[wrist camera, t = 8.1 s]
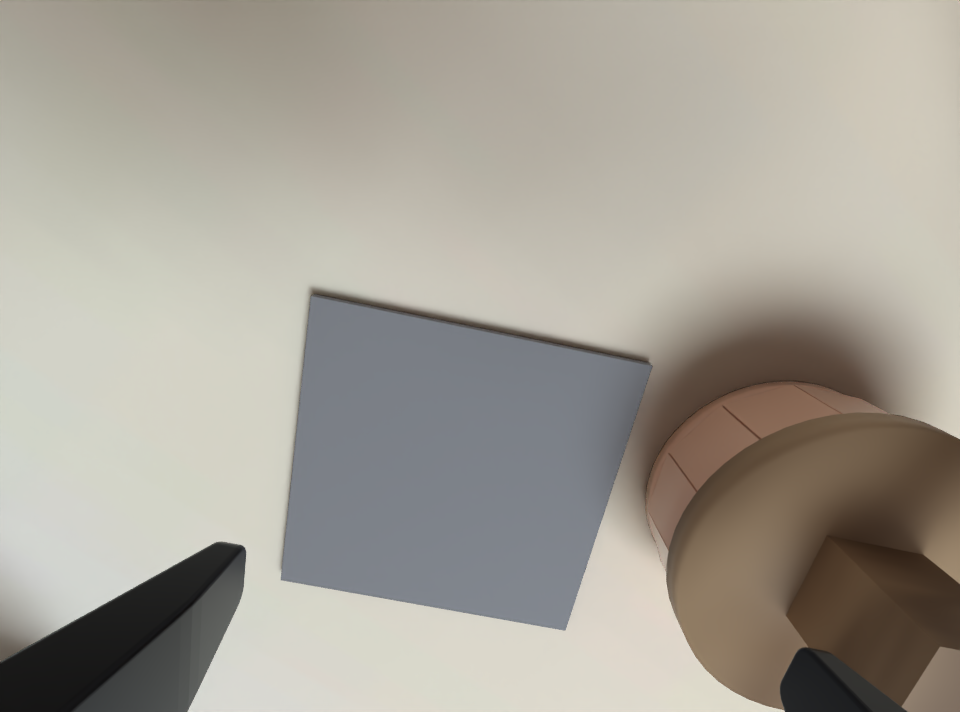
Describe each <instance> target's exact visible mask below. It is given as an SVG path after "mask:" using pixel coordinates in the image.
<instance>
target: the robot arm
mask: <svg viewBox="0 0 960 712" xmlns="http://www.w3.org/2000/svg"><path fill="white" fill-rule="evenodd" d="M245 562H246V550H245V548H244V547H243V546H242V545H238V544H232V543H227V542H216V543H214V544H212V545H210V546H208V547H206V548H205V549H203V550H201V551H199V552H197V553H196V554H194V555H192V556H190V557H188V558H187V559H185V560H183V561H181V562H179V563H178V564H176V565H174V566H172V567H170V568H169V569H167V570H165V571H163V572H161V573H160V574H158V575H156V576H154V577H152V578H151V579H149V580H147V581H145V582H143V583H142V584H140V585H138V586H136V587H134V588H133V589H131V590H129V591H127V592H125V593H124V594H122V595H120V596H118V597H116V598H115V599H113V600H111V601H109V602H107V603H106V604H104V605H102V606H100V607H98V608H97V609H95V610H93V611H91V612H89V613H88V614H86V615H84V616H82V617H80V618H78V619H77V620H75V621H73V622H71V623H69V624H68V625H66V626H64V627H62V628H60V629H59V630H57V631H55V632H53V633H51V634H50V635H48V636H46V637H44V638H42V639H41V640H39V641H37V642H35V643H33V644H32V645H30V646H28V647H26V648H24V649H23V650H21V651H19V652H17V653H15V654H14V655H12V656H10V657H8V658H6V659H5V660H3V661H1V662H0V712H187V711H188V709H189V707H190V705H191V703H192V701H193V699H194V697H195V695H196V693H197V691H198V689H199V687H200V685H201V683H202V681H203V678H204V676H205V674H206V672H207V670H208V668H209V666H210V664H211V662H212V659H213V657H214V655H215V653H216V651H217V649H218V647H219V645H220V643H221V640H222V638H223V636H224V634H225V632H226V630H227V628H228V626H229V624H230V621H231V619H232V617H233V615H234V613H235V611H236V609H237V607H238V604H239V602H240V599H241V596H242V592H243V587H244V574H245ZM780 698H781V702H782V704H783V707H784V710H785V712H908V711H906V710H905V709H904V708H902V707H901V706H900V705H898V704H897V703H896V702H895V701H893V700H892V699H891V698H889V697H888V696H887V695H885V694H884V693H883V692H881V691H880V690H879V689H878V688H876V687H875V686H874V685H872V684H871V683H870V682H868V681H867V680H866V679H864V678H863V677H862V676H861V675H859V674H858V673H857V672H855V671H854V670H853V669H851V668H850V667H849V666H847V665H846V664H845V663H844V662H842V661H841V660H840V659H838V658H837V657H836V656H834V655H833V654H832V653H830V652H828V651H825V650H820V649H814V648H809V647H802V648H800V649H799V650H797V652H796V653H795V655H794V657H793V659H792V661H791V663H790V665H789V667H788V669H787V671H786V673H785V675H784V677H783V678H782V680H781V683H780Z"/></svg>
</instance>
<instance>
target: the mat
mask: <svg viewBox="0 0 960 712" xmlns="http://www.w3.org/2000/svg"><path fill="white" fill-rule="evenodd" d="M651 369H652V365H651V364H650V363H648V362H643V361H638V360H633V359H628V358H623V357H618V356H614V355H609V354H604V353H599V352H594V351H589V350H584V349H580V348H575V347H570V346H565V345H560V344H555V343H550V342H546V341H541V340H536V339H531V338H526V337H521V336H516V335H511V334H507V333H502V332H497V331H492V330H487V329H482V328H477V327H473V326H468V325H463V324H458V323H453V322H448V321H443V320H438V319H434V318H429V317H424V316H419V315H414V314H409V313H404V312H400V311H395V310H390V309H385V308H380V307H375V306H370V305H365V304H361V303H356V302H351V301H346V300H341V299H336V298H331V297H327V296H322V295H317V294H314V295H312V296H311V300H310V309H309V319H308V328H307V338H306V347H305V356H304V366H303V375H302V385H301V394H300V403H299V413H298V422H297V432H296V441H295V451H294V460H293V469H292V479H291V488H290V498H289V507H288V516H287V526H286V535H285V545H284V554H283V564H282V573H281V580H283V581H289V582H295V583H300V584H306V585H311V586H317V587H323V588H328V589H334V590H340V591H345V592H351V593H357V594H362V595H368V596H373V597H379V598H385V599H390V600H396V601H402V602H407V603H413V604H418V605H424V606H430V607H435V608H441V609H447V610H452V611H458V612H463V613H469V614H475V615H480V616H486V617H492V618H497V619H503V620H509V621H514V622H520V623H525V624H531V625H537V626H542V627H548V628H554V629H559V630H566V627H567V624H568V621H569V618H570V615H571V612H572V609H573V605H574V602H575V599H576V596H577V593H578V590H579V587H580V584H581V581H582V578H583V575H584V572H585V569H586V566H587V563H588V560H589V557H590V554H591V551H592V548H593V545H594V542H595V539H596V536H597V533H598V530H599V527H600V524H601V521H602V518H603V515H604V512H605V508H606V505H607V502H608V499H609V496H610V493H611V490H612V487H613V484H614V481H615V478H616V475H617V472H618V469H619V466H620V463H621V460H622V457H623V454H624V451H625V448H626V445H627V442H628V439H629V436H630V433H631V430H632V427H633V424H634V421H635V418H636V415H637V411H638V408H639V405H640V402H641V399H642V396H643V393H644V390H645V387H646V384H647V381H648V378H649V375H650V372H651Z"/></svg>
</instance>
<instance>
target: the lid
mask: <svg viewBox="0 0 960 712" xmlns="http://www.w3.org/2000/svg"><path fill="white" fill-rule="evenodd" d="M666 582H667V588H668V594H669V599H670V602H671V605H672V608H673V610H674V613H675V615H676V618H677V620H678V622H679V624H680V627H681V629H682V631H683V633H684V635H685V638H686V640H687V642H688V644H689V646H690V647H691V649H692V651H693V653H694V655H695V656H696V658H697V659H698V660H699V662H700V663H701V664H702V665H703V667H704V668H705V669H706V670H707V671H708V672H709V673H710V674H711V675H712V676H713V677H714V678H715V679H716V680H718V681H719V682H720V683H722V684H723V685H724V686H726V687H727V688H729V689H730V690H732V691H733V692H735V693H737V694H739V695H741V696H743V697H745V698H747V699H749V700H752V701H755V702H757V703H760V704H763V705H766V706H769V707H773V708H778V709H782V710H784V707H783V704H782V702H781V698H780V683H781V680H782V678H783V677H784V675H785V673H786V671H787V669H788V667H789V665H790V663H791V661H792V659H793V657H794V655H795V653H796V652H797V650H799V649H800V648H802V647H809V648H814V649H820V650H825V651H828V652H830V653H832V654H833V655H834V656H836V657H837V658H838V659H840V660H841V661H842V662H844V663H845V664H846V665H847V666H849V667H850V668H851V669H853V670H854V671H855V672H857V673H858V674H859V675H861V676H862V677H863V678H864V679H866V680H867V681H868V682H870V683H871V684H872V685H874V686H875V687H876V688H878V689H879V690H880V691H881V692H883V693H884V694H885V695H887V696H888V697H889V698H891V699H892V700H893V701H895V702H896V703H897V704H898V705H900V706H901V707H902V708H904V709H905V710H906V711H908V712H960V439H958V438H956V437H954V436H952V435H950V434H948V433H946V432H944V431H942V430H940V429H938V428H935V427H933V426H931V425H929V424H927V423H924V422H921V421H918V420H914V419H911V418H907V417H904V416H898V415H891V414H884V413H861V412H856V413H846V414H835V415H829V416H825V417H820V418H815V419H810V420H807V421H804V422H801V423H798V424H795V425H792V426H789V427H786V428H783V429H781V430H779V431H777V432H775V433H772V434H770V435H768V436H766V437H764V438H762V439H760V440H758V441H757V442H755V443H753V444H752V445H750V446H748V447H746V448H745V449H743V450H742V451H740V452H739V453H738V454H736V455H735V456H734V457H732V458H731V459H730V460H728V461H727V462H726V463H724V464H723V465H722V466H721V467H720V468H719V469H718V470H717V471H716V472H715V473H714V474H713V475H711V476H710V477H709V478H708V479H707V481H706V482H705V483H704V484H703V485H702V486H701V488H700V489H699V490H698V491H697V492H696V494H695V495H694V496H693V498H692V499H691V501H690V502H689V504H688V505H687V507H686V509H685V510H684V512H683V513H682V516H681V518H680V520H679V522H678V524H677V526H676V528H675V530H674V534H673V537H672V540H671V543H670V546H669V552H668V558H667V564H666Z"/></svg>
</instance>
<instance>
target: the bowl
mask: <svg viewBox="0 0 960 712" xmlns="http://www.w3.org/2000/svg"><path fill="white" fill-rule="evenodd" d="M856 412H861V413H884V414H889V413H887V412H885V411H883V410H881V409H879V408H878V407H876V406H874V405H872V404H870V403H868V402H866V401H864V400H862V399H861V398H857V397H852V396H847V395H844V394H841V393H839V392H837V391H834V390H832V389H830V388H827V387H823V386H820V385H816V384H811V383H804V382H789V381H779V382H770V383H762V384H758V385H753V386H749V387H745V388H742V389H739V390H736V391H734V392H731V393H728V394H726V395H724V396H722V397H720V398H718V399H716V400H714V401H712V402H711V403H709V404H707V405H706V406H704V407H703V408H701V409H699V410H698V411H697V412H696V413H694V414H693V415H692V416H691V417H689V418H688V419H687V420H686V421H685V422H684V423H683V424H682V425H681V426H680V427H679V428H678V429H677V430H676V431H675V432H674V433H673V434H672V436H671V437H670V438H669V439H668V441H667V442H666V443H665V445H664V446H663V448H662V450H661V451H660V453H659V455H658V456H657V458H656V460H655V463H654V465H653V467H652V470H651V473H650V476H649V480H648V484H647V490H646V515H647V520H648V525H649V528H650V530H651V533H652V536H653V538H654V540H655V542H656V545H657V548H658V552H659V556H660V560H661V562H662V564H663V566H664V568H665V571H666V564H667V558H668V552H669V546H670V543H671V540H672V537H673V534H674V530H675V528H676V526H677V524H678V522H679V520H680V518H681V516H682V513H683V512H684V510H685V509H686V507H687V505H688V504H689V502H690V501H691V499H692V498H693V496H694V495H695V494H696V492H697V491H698V490H699V489H700V488H701V486H702V485H703V484H704V483H705V482H706V481H707V479H708V478H709V477H710V476H711V475H713V474H714V473H715V472H716V471H717V470H718V469H719V468H720V467H721V466H722V465H723V464H724V463H726V462H727V461H728V460H730V459H731V458H732V457H734V456H735V455H736V454H738V453H739V452H740V451H742V450H743V449H745V448H746V447H748V446H750V445H752V444H753V443H755V442H757V441H758V440H760V439H762V438H764V437H766V436H768V435H770V434H772V433H775V432H777V431H779V430H781V429H783V428H786V427H789V426H792V425H795V424H798V423H801V422H804V421H807V420H810V419H815V418H820V417H825V416H829V415H835V414H846V413H856Z"/></svg>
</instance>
